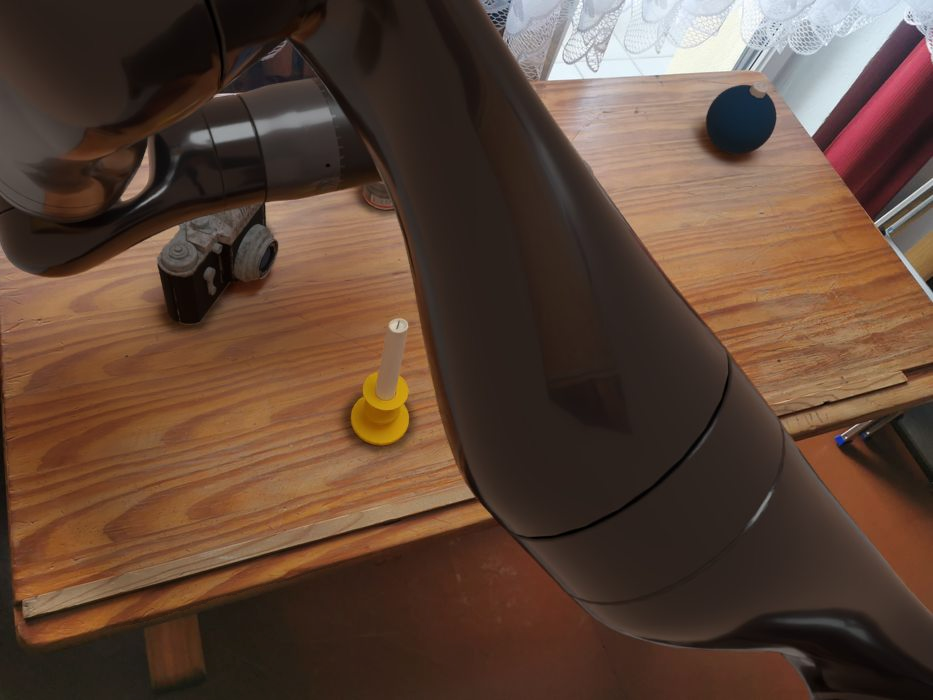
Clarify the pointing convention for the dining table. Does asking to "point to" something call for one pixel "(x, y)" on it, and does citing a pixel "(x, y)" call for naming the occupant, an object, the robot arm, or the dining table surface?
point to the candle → (384, 394)
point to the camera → (214, 259)
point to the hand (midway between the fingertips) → (520, 99)
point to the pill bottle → (377, 195)
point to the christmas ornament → (741, 118)
